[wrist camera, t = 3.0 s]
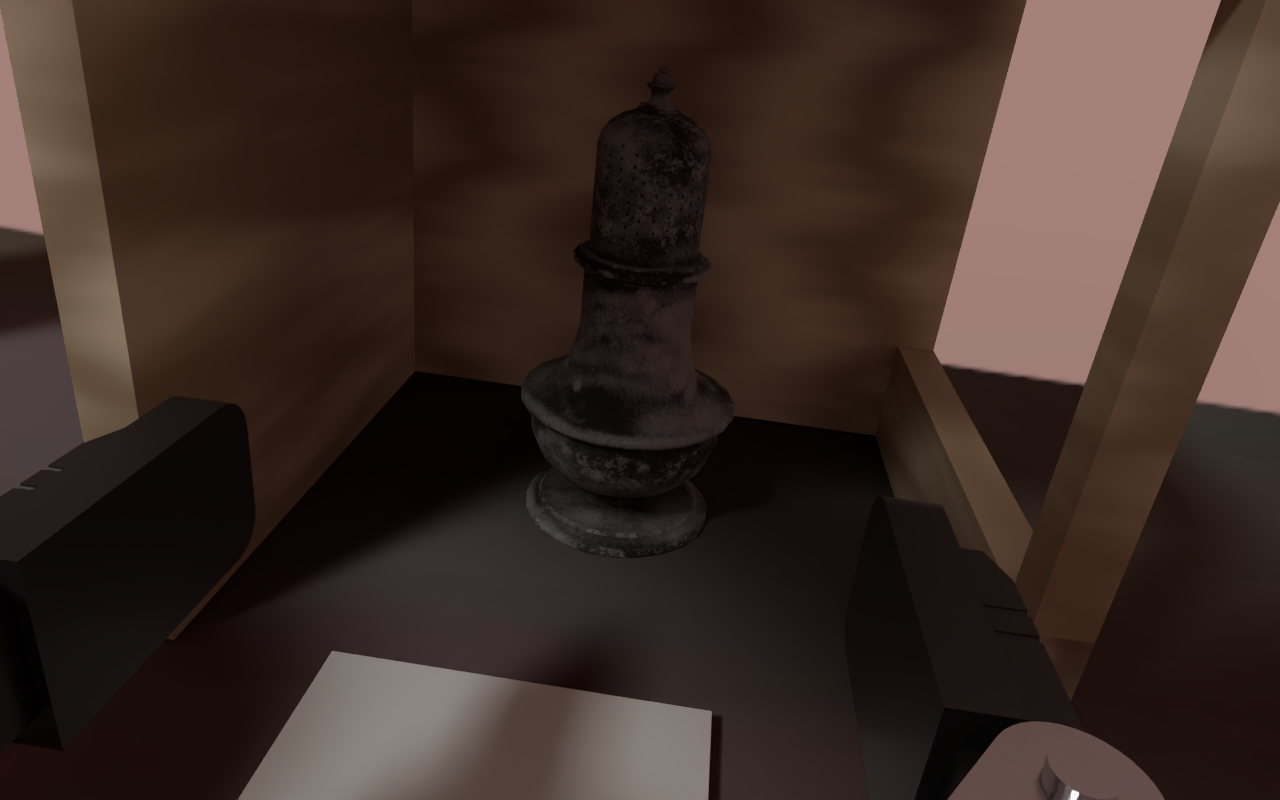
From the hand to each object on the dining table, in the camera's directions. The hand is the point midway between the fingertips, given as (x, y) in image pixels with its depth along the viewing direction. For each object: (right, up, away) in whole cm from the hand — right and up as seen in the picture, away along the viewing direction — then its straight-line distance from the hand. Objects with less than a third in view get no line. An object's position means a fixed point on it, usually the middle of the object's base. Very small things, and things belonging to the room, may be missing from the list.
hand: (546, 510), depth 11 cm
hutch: (0, -2, +14) cm, 14 cm away
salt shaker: (0, -2, +14) cm, 14 cm away
